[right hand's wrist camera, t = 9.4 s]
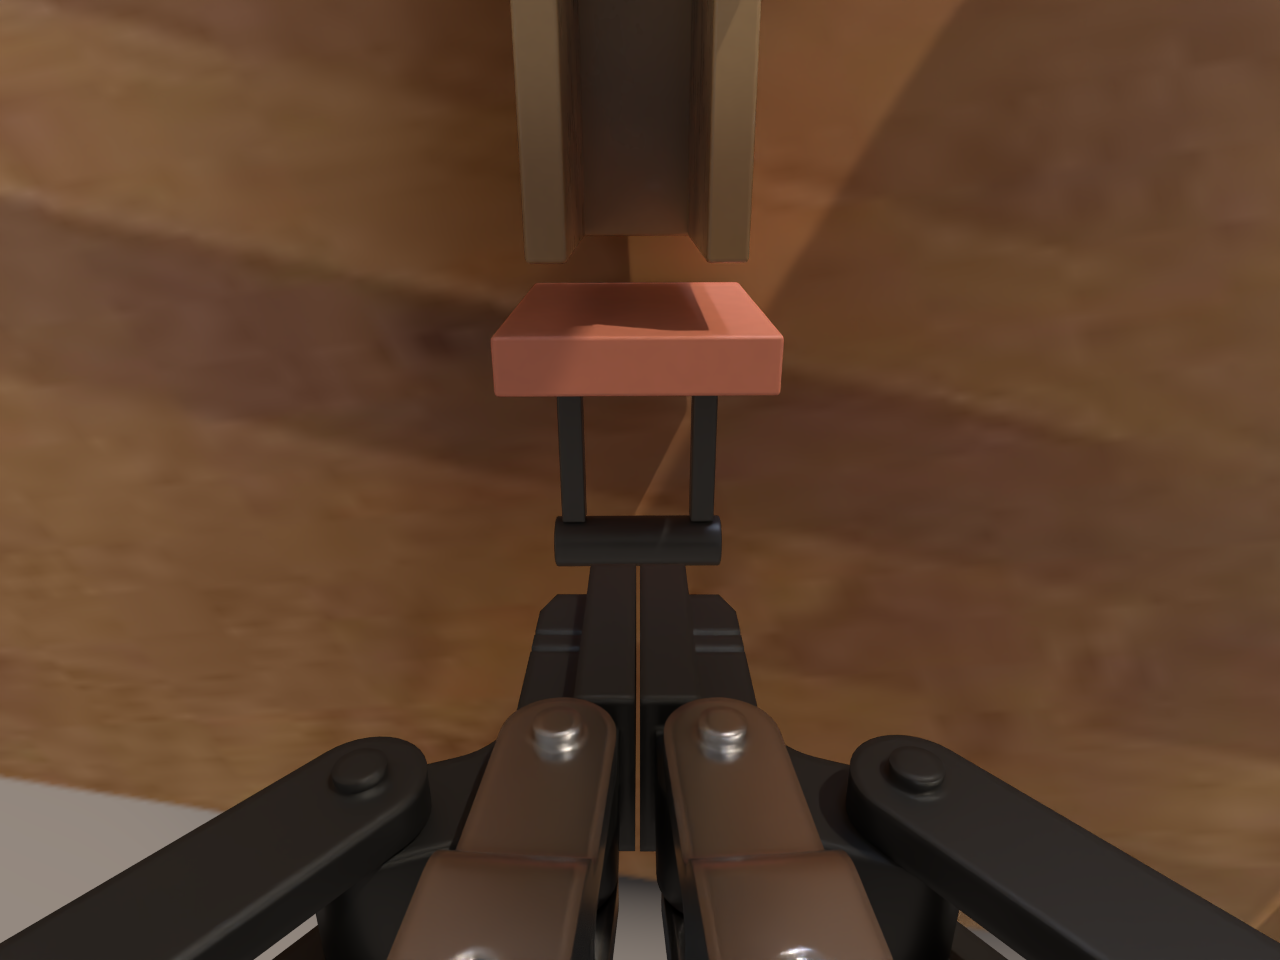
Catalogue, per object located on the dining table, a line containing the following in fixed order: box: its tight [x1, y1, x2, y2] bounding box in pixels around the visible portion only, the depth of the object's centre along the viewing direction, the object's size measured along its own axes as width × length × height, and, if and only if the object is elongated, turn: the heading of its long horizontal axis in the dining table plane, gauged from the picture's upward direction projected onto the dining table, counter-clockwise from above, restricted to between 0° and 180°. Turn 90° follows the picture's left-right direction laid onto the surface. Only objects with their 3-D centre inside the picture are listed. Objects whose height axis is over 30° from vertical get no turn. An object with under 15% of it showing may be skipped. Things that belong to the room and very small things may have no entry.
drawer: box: [491, 0, 784, 566], centre depth 16 cm, size 26×6×7 cm, turn 0°
